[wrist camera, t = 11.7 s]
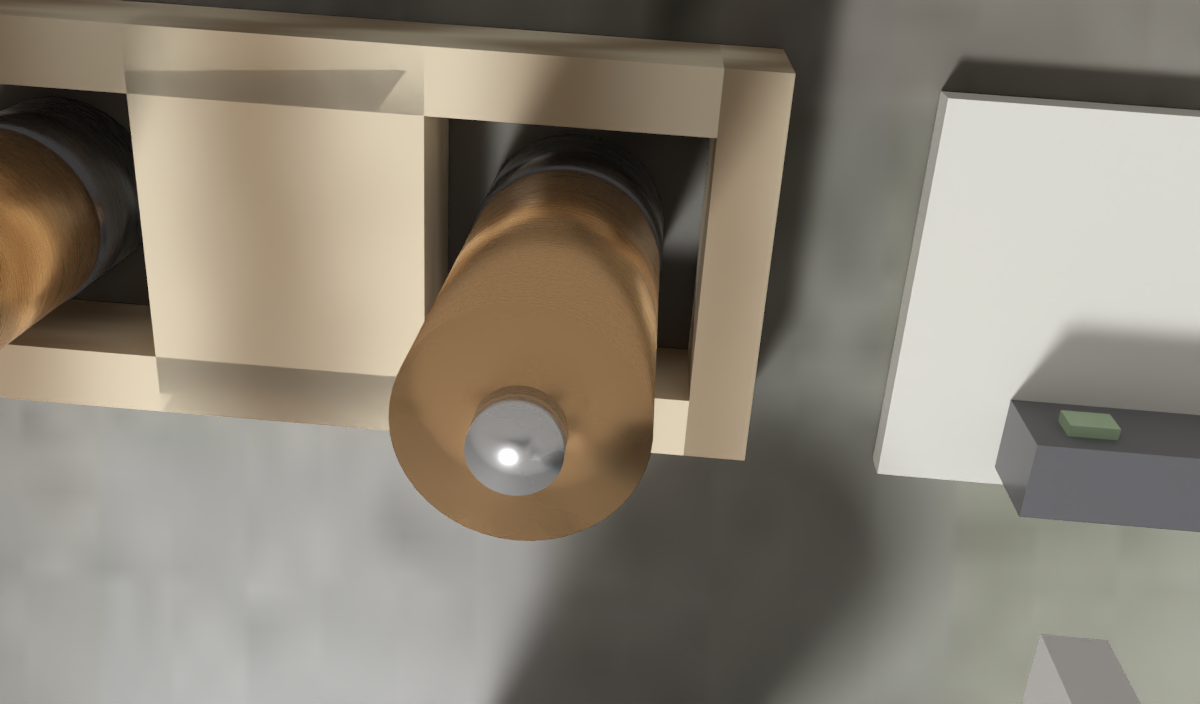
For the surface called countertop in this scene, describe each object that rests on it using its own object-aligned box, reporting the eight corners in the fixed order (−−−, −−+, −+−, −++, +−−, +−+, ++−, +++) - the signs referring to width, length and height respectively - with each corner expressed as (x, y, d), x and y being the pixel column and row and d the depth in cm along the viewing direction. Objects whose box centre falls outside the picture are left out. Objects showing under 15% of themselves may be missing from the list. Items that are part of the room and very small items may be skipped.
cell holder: (783, 49, 27) (795, 73, 24) (738, 404, 31) (744, 460, 28) (-149, -20, 27) (-240, -3, 25) (-77, 337, 31) (-148, 385, 29)
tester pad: (1459, 129, 27) (1554, 166, 24) (1319, 496, 31) (1386, 565, 28) (940, 91, 27) (972, 122, 24) (872, 458, 31) (892, 523, 28)
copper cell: (671, 141, 28) (667, 334, 17) (655, 311, 30) (643, 581, 19) (487, 127, 28) (370, 310, 17) (484, 297, 30) (376, 558, 19)
